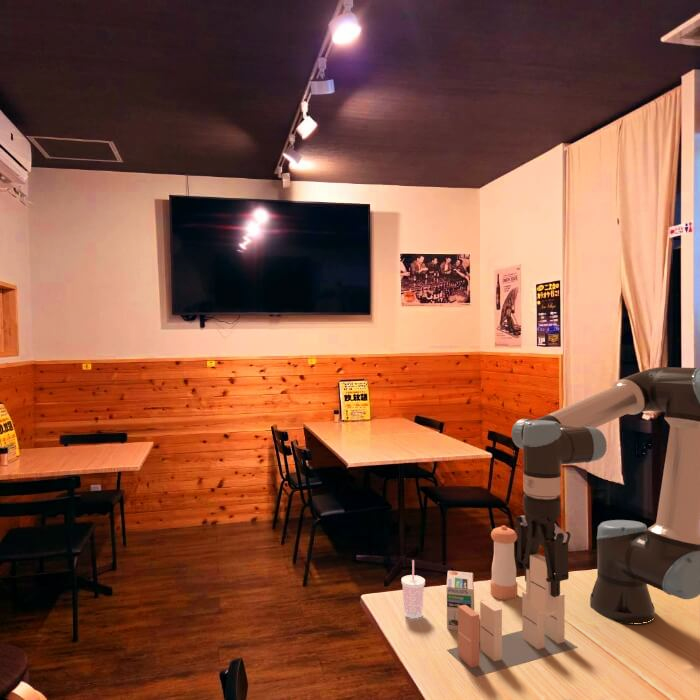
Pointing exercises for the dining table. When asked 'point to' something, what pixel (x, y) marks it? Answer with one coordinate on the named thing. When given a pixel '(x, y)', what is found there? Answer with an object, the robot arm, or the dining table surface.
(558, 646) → the slate mat
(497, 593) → the salt shaker
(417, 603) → the beverage cup
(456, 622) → the light bulb box
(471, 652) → the domino
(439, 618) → the dining table surface
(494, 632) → the domino
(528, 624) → the domino
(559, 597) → the domino
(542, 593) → the loose domino
